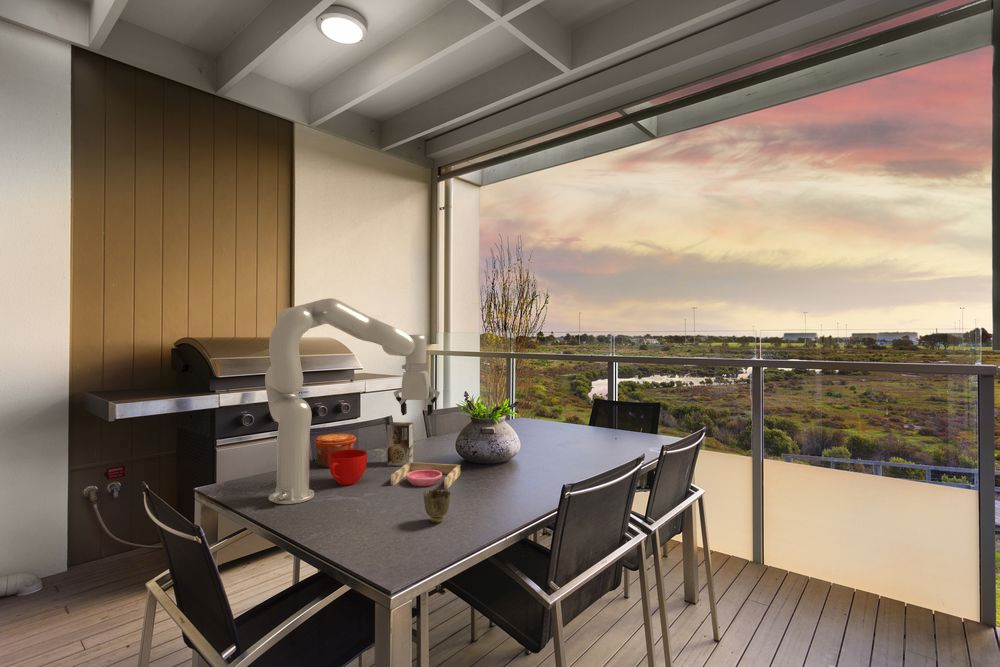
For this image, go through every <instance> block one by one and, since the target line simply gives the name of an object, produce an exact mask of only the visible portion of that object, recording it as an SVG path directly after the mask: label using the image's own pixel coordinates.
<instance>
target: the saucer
mask: <svg viewBox="0 0 1000 667" xmlns="http://www.w3.org/2000/svg"><path fill="white" fill-rule="evenodd" d="M405 478H406V480H407V482H409V483H410V485H412V486H414V487H429V486H434V485H437V483H439V481H441V479H442V478H443V474H442V473H441V472H440V471H436V470H416V471H412V472H409V473H408V474H407V475H406V476H405Z"/></svg>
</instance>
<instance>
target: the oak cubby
mask: <svg viewBox="0 0 1000 667" xmlns="http://www.w3.org/2000/svg"><path fill="white" fill-rule="evenodd" d="M416 470H436V471H440V472H441V473H442V475H446V477H444V482H443V484H444V485H443V486H444V487H443V488H444V489H445V490H448V489H449V488H450V487H451V485H452V484H453V483H454V482H455V481H456V480H457V479H458V478H459V477H460V476H461V464H451V463H450V464H449V463H433V462H418V461H415V462H414V461H413V462H408V463H407V464H406V465H404V466H400V468H399V469H397V470H396V471H395V472H393V473H391V475H390V486H393V487H394V486H395V485H396V484H397V483H399V482H400V481H401V480H402V479H404V478H406V475H407V474H408V473H409V472H412V471H416Z"/></svg>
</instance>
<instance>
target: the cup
mask: <svg viewBox="0 0 1000 667" xmlns="http://www.w3.org/2000/svg"><path fill="white" fill-rule="evenodd" d="M428 490H429V491H428V492H427V493H426V491H424V492H423V502H424V510H425V513H426V515H427V516H429V517H430V518H429V520H430V522H431V523H433V524H439V523H442V522H443V520H444V516H445V515H446V514H447V513H448V510H449V508H450V507H449V506H450V500H451V492H450V491H448V490H446V489H444V490H441V488H440V489H439V490H438V489H436V488H434V489H433V490H431V489H428Z"/></svg>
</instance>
